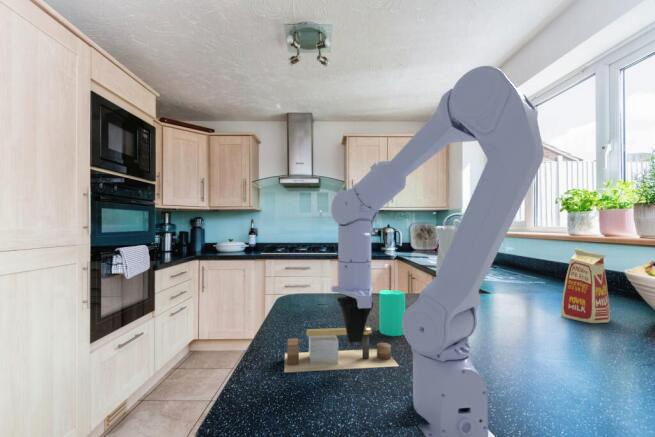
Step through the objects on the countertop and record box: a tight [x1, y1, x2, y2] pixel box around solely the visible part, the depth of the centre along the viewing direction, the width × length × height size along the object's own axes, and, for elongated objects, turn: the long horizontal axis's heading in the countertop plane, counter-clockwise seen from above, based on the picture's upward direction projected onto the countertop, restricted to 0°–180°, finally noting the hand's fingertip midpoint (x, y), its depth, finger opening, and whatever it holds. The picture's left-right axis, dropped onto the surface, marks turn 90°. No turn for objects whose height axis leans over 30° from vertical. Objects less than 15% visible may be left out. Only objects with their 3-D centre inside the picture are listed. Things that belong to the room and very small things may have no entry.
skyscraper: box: [434, 219, 461, 277], centre depth 80 cm, size 8×8×28 cm
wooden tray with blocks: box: [283, 335, 400, 373], centre depth 56 cm, size 8×20×6 cm, turn 97°
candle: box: [378, 289, 406, 337], centre depth 72 cm, size 6×6×12 cm
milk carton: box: [560, 247, 611, 324], centre depth 88 cm, size 9×9×20 cm
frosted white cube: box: [308, 335, 339, 366], centre depth 56 cm, size 4×5×4 cm
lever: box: [306, 325, 372, 337], centre depth 56 cm, size 2×12×1 cm, turn 97°
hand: (354, 340), depth 52 cm, fingers closed
